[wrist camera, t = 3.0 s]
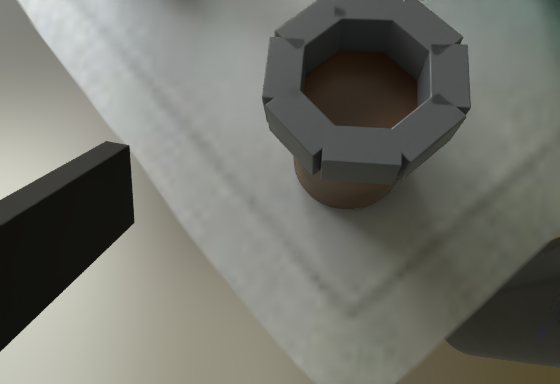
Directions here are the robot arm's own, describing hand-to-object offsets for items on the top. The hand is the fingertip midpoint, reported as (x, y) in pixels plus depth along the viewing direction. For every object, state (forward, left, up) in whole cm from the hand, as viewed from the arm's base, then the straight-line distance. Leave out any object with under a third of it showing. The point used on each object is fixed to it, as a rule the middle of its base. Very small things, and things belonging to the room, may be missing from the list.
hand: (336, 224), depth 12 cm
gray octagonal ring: (+6, -7, -8) cm, 12 cm away
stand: (+6, -7, -16) cm, 18 cm away
